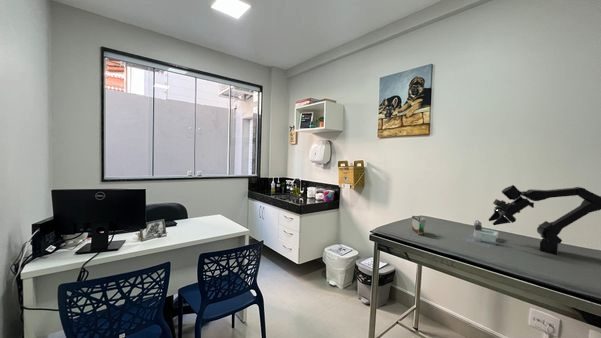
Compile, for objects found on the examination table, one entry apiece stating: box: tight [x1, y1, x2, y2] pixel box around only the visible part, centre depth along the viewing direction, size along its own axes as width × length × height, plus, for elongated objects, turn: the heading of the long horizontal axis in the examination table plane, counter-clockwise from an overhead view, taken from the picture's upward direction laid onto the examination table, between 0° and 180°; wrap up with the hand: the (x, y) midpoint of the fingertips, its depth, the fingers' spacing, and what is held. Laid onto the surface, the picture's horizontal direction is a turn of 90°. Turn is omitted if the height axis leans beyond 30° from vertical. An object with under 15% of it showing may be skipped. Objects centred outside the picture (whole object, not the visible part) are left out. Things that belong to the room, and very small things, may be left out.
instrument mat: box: [457, 232, 506, 249], centre depth 151 cm, size 16×26×1 cm, turn 124°
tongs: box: [473, 219, 483, 242], centre depth 148 cm, size 3×4×12 cm
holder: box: [481, 228, 499, 242], centre depth 153 cm, size 10×10×4 cm
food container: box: [411, 215, 427, 236], centre depth 162 cm, size 12×6×10 cm, turn 179°
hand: (490, 222), depth 145 cm, fingers open, 9 cm apart
